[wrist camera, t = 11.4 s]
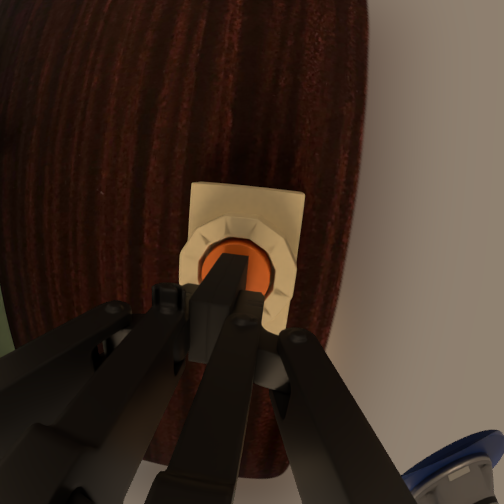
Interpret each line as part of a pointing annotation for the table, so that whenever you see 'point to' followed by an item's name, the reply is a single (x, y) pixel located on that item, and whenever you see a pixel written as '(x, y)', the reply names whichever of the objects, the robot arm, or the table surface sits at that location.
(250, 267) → the button
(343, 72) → the table surface
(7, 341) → the clamp block
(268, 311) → the box
